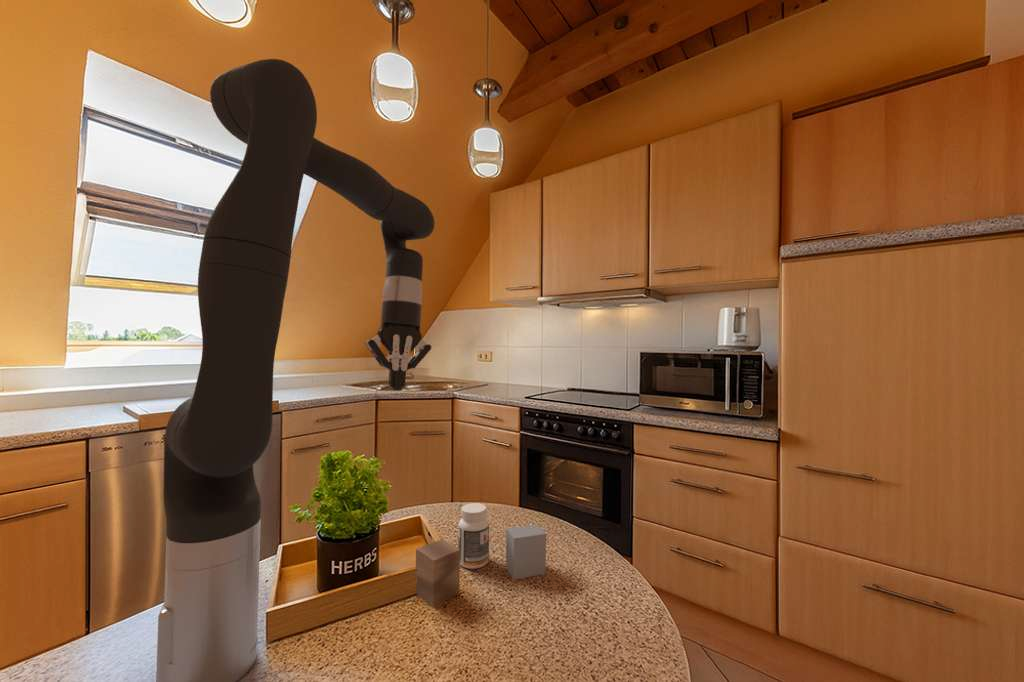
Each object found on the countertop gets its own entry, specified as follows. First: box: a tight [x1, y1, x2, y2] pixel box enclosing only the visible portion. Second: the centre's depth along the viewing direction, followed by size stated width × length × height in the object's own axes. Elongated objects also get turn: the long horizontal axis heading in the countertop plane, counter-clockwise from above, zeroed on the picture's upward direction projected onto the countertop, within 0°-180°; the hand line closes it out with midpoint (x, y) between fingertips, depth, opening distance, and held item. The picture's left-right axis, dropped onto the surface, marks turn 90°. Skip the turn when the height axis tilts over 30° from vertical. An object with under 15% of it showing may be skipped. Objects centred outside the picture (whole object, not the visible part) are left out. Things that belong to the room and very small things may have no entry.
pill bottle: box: [457, 502, 490, 570], centre depth 74 cm, size 6×6×10 cm
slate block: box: [505, 524, 547, 581], centre depth 72 cm, size 6×4×7 cm, turn 110°
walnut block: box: [415, 538, 461, 608], centre depth 65 cm, size 5×5×7 cm
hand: (396, 390), depth 78 cm, fingers closed
